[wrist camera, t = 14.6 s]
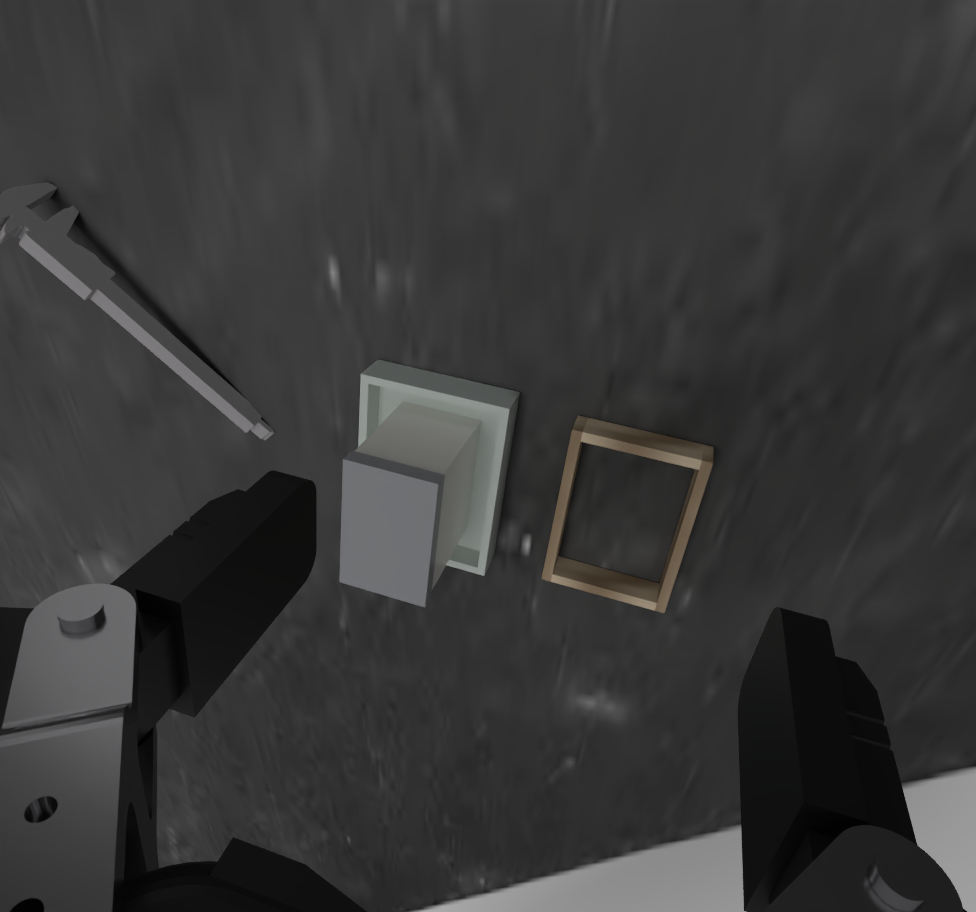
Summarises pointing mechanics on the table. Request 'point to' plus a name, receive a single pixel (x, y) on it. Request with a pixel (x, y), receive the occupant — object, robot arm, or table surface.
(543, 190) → the table surface
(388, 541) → the gray rectangular box
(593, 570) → the holder
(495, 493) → the tray
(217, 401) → the caliper
